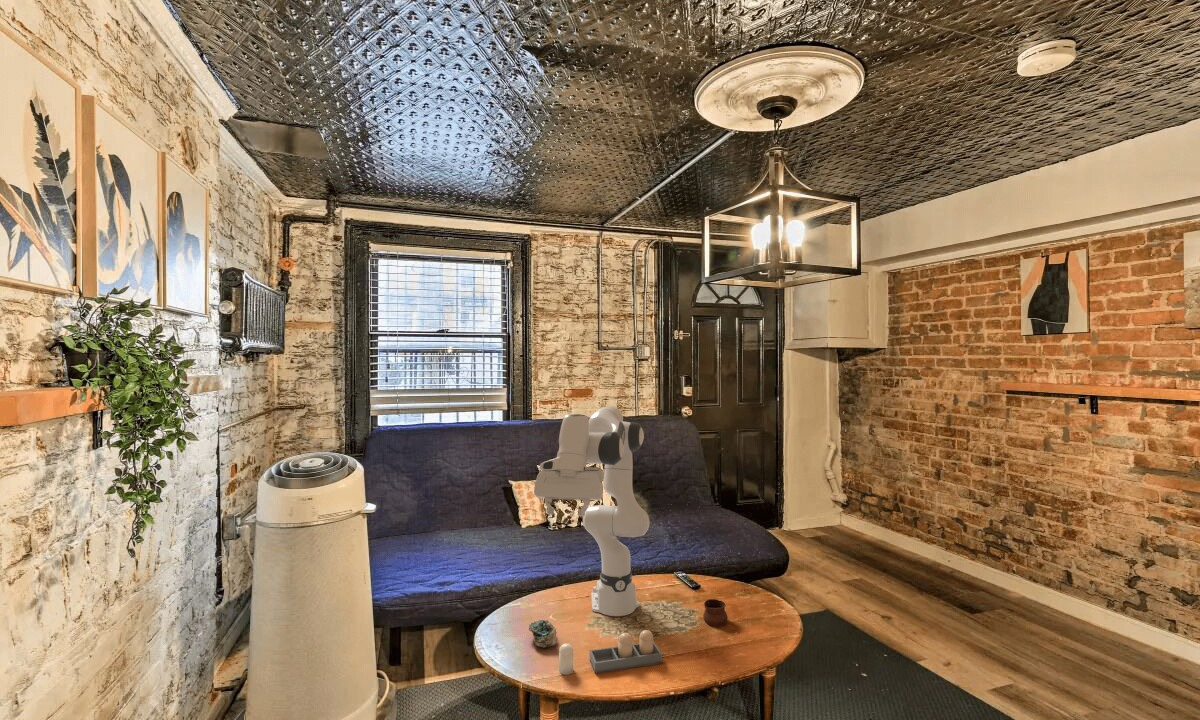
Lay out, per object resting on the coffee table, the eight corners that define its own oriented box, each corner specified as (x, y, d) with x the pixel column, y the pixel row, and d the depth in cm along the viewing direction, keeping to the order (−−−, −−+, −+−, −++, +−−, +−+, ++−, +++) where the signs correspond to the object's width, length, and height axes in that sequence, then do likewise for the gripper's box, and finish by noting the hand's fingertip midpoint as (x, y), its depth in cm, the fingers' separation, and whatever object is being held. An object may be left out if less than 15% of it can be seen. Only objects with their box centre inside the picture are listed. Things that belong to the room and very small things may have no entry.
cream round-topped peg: (558, 667, 171) (557, 641, 171) (572, 665, 172) (571, 639, 172) (560, 675, 167) (560, 649, 167) (574, 673, 168) (574, 647, 168)
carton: (589, 660, 175) (589, 632, 175) (653, 650, 180) (653, 623, 180) (595, 673, 168) (594, 644, 167) (661, 663, 173) (661, 635, 173)
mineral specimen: (526, 633, 191) (526, 615, 188) (552, 625, 194) (552, 608, 191) (537, 662, 180) (537, 644, 177) (563, 653, 184) (564, 635, 181)
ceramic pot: (684, 628, 196) (684, 608, 196) (698, 607, 212) (698, 589, 211) (734, 639, 188) (734, 619, 187) (745, 617, 203) (745, 598, 203)
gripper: (607, 469, 160) (603, 518, 155) (543, 468, 167) (537, 515, 161) (601, 464, 155) (596, 515, 149) (535, 463, 161) (528, 511, 156)
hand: (565, 515), depth 155 cm, fingers open, 8 cm apart
